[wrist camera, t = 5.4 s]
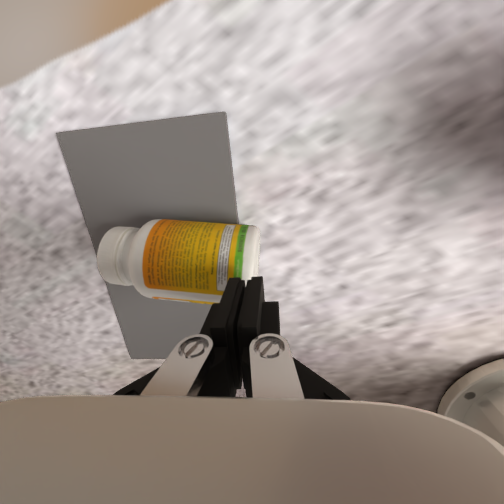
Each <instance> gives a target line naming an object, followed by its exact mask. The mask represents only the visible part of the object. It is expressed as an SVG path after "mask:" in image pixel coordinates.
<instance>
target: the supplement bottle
mask: <svg viewBox="0 0 504 504" xmlns="http://www.w3.org/2000/svg"><path fill="white" fill-rule="evenodd" d="M259 254H260V230H259V228H258V227H257V226H252V225H239V224H224V223H210V222H195V221H181V220H169V219H155V220H151V221H149V222H147V223H146V224H144V225H143V226H142V227H141V228H135V227H121V226H118V227H114V228H112V229H110V230H109V231H107V232H106V234H105V235H104V236H103V238H102V240H101V242H100V244H99V248H98V252H97V265H98V270H99V272H100V275H101V276H102V278H103V279H104V280H105V281H107V282H108V283H111V284H117V285H124V286H130V285H134V287H135V289H136V290H137V291H138V292H139V293H140V294H141V295H143V296H145V297H148V298H153V299H160V300H171V301H181V302H191V303H201V304H210V305H212V304H213V303H220V300H221V298H222V295H223V292H224V290H225V287H226V285H227V282H228V280H229V278H234V277H240V278H241V280H245V286H246V284H247V280H251V277H258V270H259Z"/></svg>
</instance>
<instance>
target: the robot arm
mask: <svg viewBox="0 0 504 504" xmlns="http://www.w3.org/2000/svg"><path fill="white" fill-rule="evenodd" d="M242 379H243V383H244V389H246V396H247V397H235V396H236V390H237V389H241V386H242ZM0 504H504V359H499V360H496V361H493V362H490V363H487V364H485V365H482V366H480V367H478V368H476V369H474V370H472V371H470V372H468V373H467V374H466V375H464V376H463V377H461V378H460V379H458V380H457V381H456V382H455V383H454V384H453V385H452V386H451V387H450V388H449V389H448V390H447V392H446V393H445V395H444V396H443V398H442V399H441V402H440V405H439V407H438V414H437V413H434V412H431V411H427V410H423V409H418V408H414V407H410V406H405V405H398V404H391V403H383V402H369V401H364V400H361V401H352V400H350V398H349V397H348V396H347V395H345V394H344V393H343V392H342V391H340V390H339V389H337V388H336V387H335V386H333V385H332V384H330V383H329V382H327V381H326V380H325V379H323V378H322V377H320V376H319V375H317V374H316V373H315V372H313V371H312V370H310V369H309V368H307V367H306V366H305V365H303V364H302V363H300V362H299V361H297V360H296V359H295V358H293V357H292V354H291V350H290V347H289V344H288V342H287V340H286V339H285V338H283V337H282V336H280V321H279V303H278V302H265V300H264V287H263V277H262V276H261V277H251V280H247V284H246V286H245V280H241V278H240V277H234V278H229V280H228V282H227V285H226V287H225V290H224V292H223V295H222V298H221V300H220V303H213V304H212V306H211V308H210V310H209V313H208V315H207V317H206V319H205V322H204V324H203V326H202V329H201V331H200V333H199V334H195V335H191V336H188V337H186V338H184V339H183V340H181V341H180V342H179V343H178V344H177V345H176V347H175V348H174V349H173V351H172V352H171V353H170V355H169V356H168V357H167V359H166V360H165V361H164V363H163V364H162V366H161V367H159V368H157V369H156V370H154V371H152V372H150V373H149V374H147V375H145V376H143V377H141V378H140V379H138V380H136V381H134V382H133V383H131V384H129V385H127V386H126V387H124V388H122V389H120V390H119V391H118V392H116V393H115V394H113V395H46V396H32V397H23V398H17V399H12V400H7V401H2V402H0Z"/></svg>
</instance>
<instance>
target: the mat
mask: <svg viewBox="0 0 504 504" xmlns="http://www.w3.org/2000/svg"><path fill="white" fill-rule="evenodd" d="M56 134H57V137H58V140H59V143H60V146H61V149H62V152H63V155H64V158H65V161H66V164H67V167H68V170H69V173H70V176H71V179H72V182H73V185H74V188H75V191H76V194H77V197H78V200H79V203H80V206H81V210H82V213H83V216H84V219H85V222H86V225H87V228H88V231H89V234H90V237H91V240H92V243H93V246H94V249H95V252H96V255H97V252H98V248H99V244H100V242H101V240H102V238H103V236H104V235H105V234H106V232H107V231H109V230H110V229H112V228H114V227H118V226H121V227H135V228H141V227H142V226H143V225H144V224H146V223H147V222H149V221H151V220H155V219H169V220H181V221H195V222H210V223H224V224H239V222H238V213H237V205H236V196H235V187H234V178H233V169H232V160H231V151H230V142H229V134H228V125H227V116H226V112H218V113H210V114H202V115H194V116H186V117H178V118H170V119H162V120H154V121H146V122H139V123H131V124H123V125H115V126H107V127H99V128H91V129H83V130H75V131H67V132H59V133H56ZM105 282H106V285H107V288H108V291H109V294H110V297H111V300H112V303H113V306H114V309H115V312H116V315H117V318H118V321H119V324H120V327H121V330H122V333H123V336H124V339H125V342H126V345H127V348H128V351H129V354H130V357H131V359H167V357H168V356H169V355H170V353H171V352H172V351H173V349H174V348H175V347H176V345H177V344H178V343H179V342H180V341H181V340H183V339H184V338H186V337H188V336H191V335H195V334H199V333H200V331H201V329H202V326H203V324H204V322H205V319H206V317H207V315H208V313H209V310H210V308H211V306H212V305H210V304H201V303H191V302H181V301H171V300H160V299H153V298H148V297H145V296H143V295H141V294H140V293H139V292H138V291H137V290H136V289H135V287H134V285H130V286H124V285H117V284H111V283H108V282H107V281H105Z"/></svg>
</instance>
